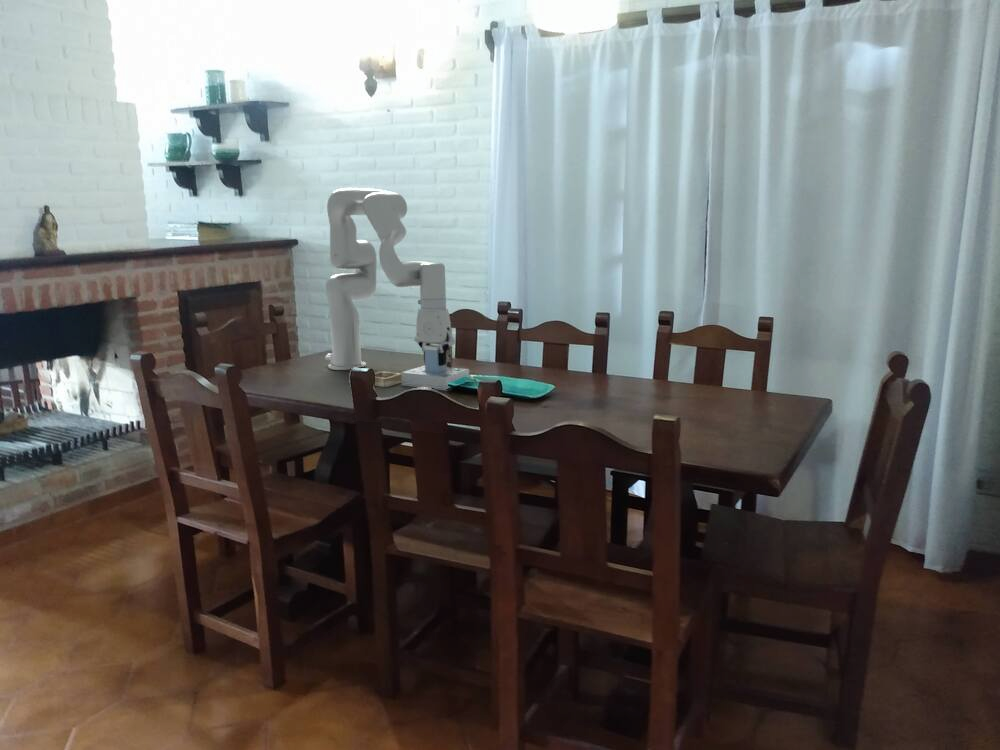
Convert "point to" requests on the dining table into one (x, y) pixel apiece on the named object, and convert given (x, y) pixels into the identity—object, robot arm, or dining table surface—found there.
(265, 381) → the dining table surface
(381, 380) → the wooden square frame
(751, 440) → the dining table surface
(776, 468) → the dining table surface
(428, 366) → the plug
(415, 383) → the port
